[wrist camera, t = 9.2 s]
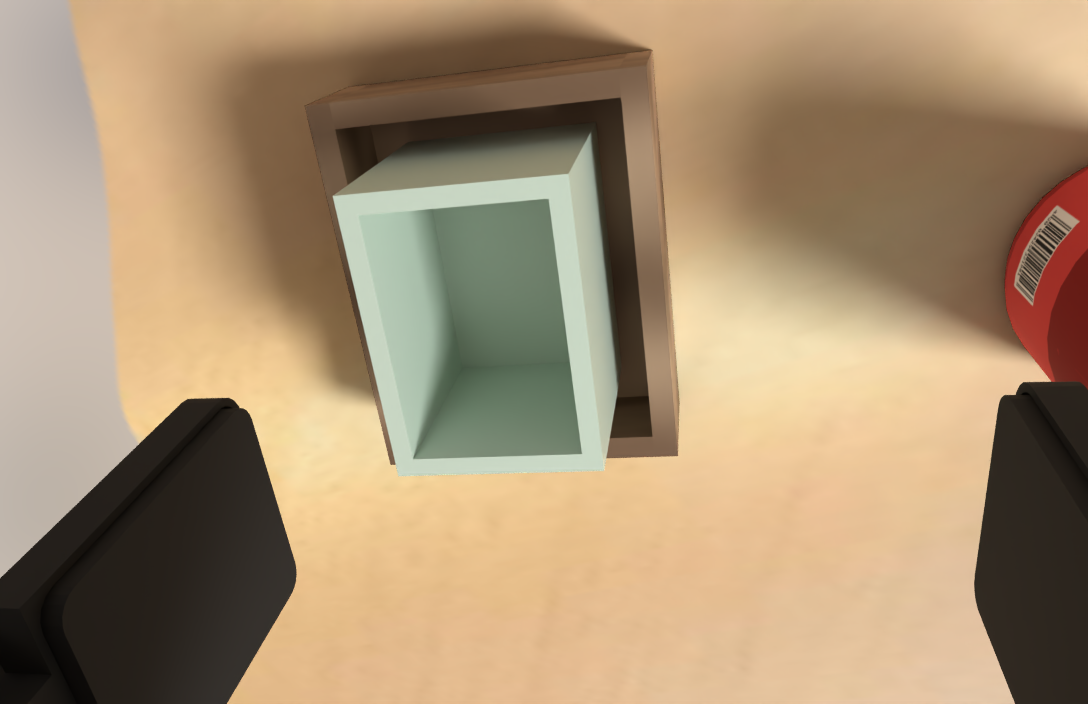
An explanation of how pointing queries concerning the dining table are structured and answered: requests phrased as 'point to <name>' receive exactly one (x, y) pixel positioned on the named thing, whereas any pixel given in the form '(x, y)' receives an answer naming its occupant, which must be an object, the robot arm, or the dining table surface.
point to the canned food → (1053, 281)
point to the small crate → (488, 300)
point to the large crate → (628, 186)
